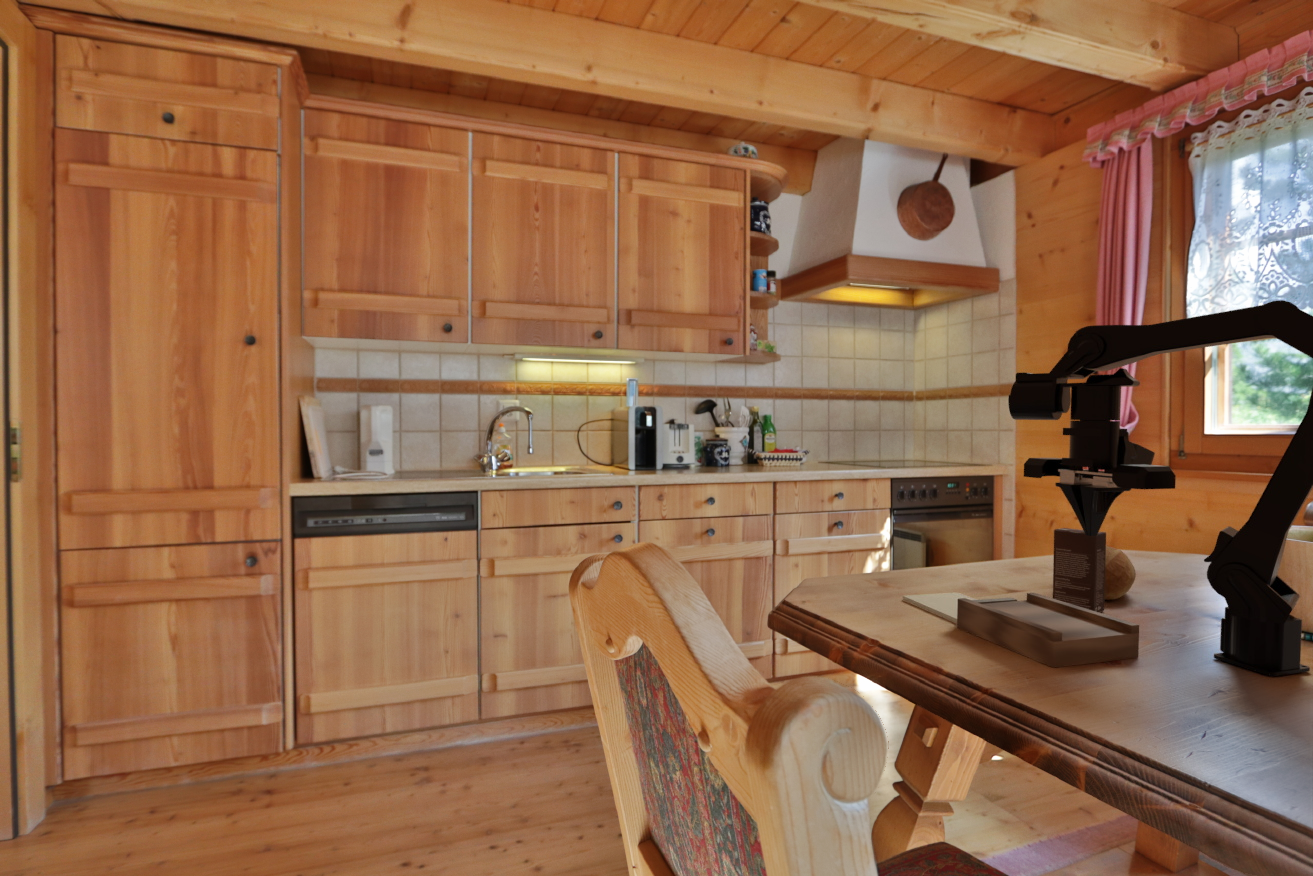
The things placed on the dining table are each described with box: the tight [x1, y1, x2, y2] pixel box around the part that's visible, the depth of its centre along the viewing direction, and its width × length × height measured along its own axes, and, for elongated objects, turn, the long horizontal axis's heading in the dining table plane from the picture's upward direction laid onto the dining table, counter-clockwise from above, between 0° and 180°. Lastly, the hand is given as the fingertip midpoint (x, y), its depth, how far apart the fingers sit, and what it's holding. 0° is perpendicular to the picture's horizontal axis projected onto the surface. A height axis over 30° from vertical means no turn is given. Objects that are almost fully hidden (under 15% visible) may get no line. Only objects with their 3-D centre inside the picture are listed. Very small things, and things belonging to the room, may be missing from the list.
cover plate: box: [902, 591, 1018, 625], centre depth 106 cm, size 14×10×4 cm
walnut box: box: [956, 592, 1140, 668], centre depth 91 cm, size 16×13×4 cm
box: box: [1052, 527, 1107, 613], centre depth 107 cm, size 6×4×12 cm
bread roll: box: [1105, 545, 1137, 600], centre depth 117 cm, size 10×15×8 cm, turn 153°
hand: (1091, 535), depth 96 cm, fingers closed
